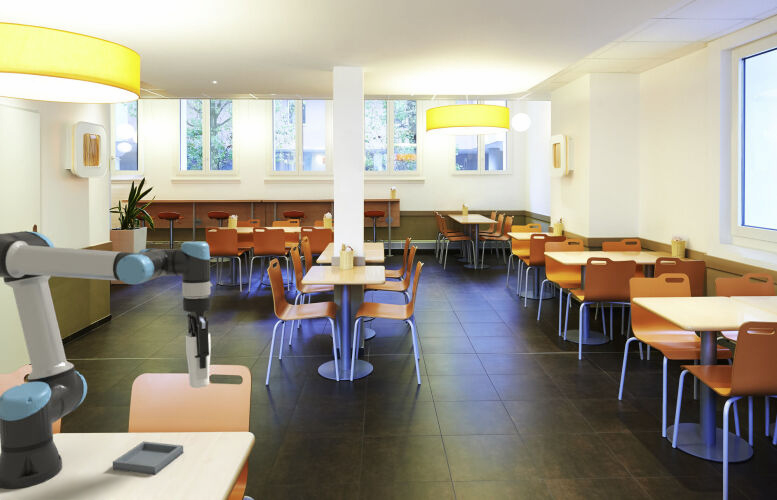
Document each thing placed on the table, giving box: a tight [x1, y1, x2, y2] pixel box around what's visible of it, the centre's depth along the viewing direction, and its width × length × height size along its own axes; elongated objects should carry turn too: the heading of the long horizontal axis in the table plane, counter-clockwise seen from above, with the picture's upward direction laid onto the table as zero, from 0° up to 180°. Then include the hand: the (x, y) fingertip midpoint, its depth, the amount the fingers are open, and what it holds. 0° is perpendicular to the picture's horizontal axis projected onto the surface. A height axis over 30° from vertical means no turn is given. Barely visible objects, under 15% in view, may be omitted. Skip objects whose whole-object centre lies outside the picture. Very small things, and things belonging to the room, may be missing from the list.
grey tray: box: [112, 441, 184, 475], centre depth 154 cm, size 13×13×2 cm
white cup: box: [185, 331, 212, 389], centre depth 158 cm, size 7×7×15 cm
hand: (199, 375), depth 158 cm, fingers closed on white cup, 6 cm apart
